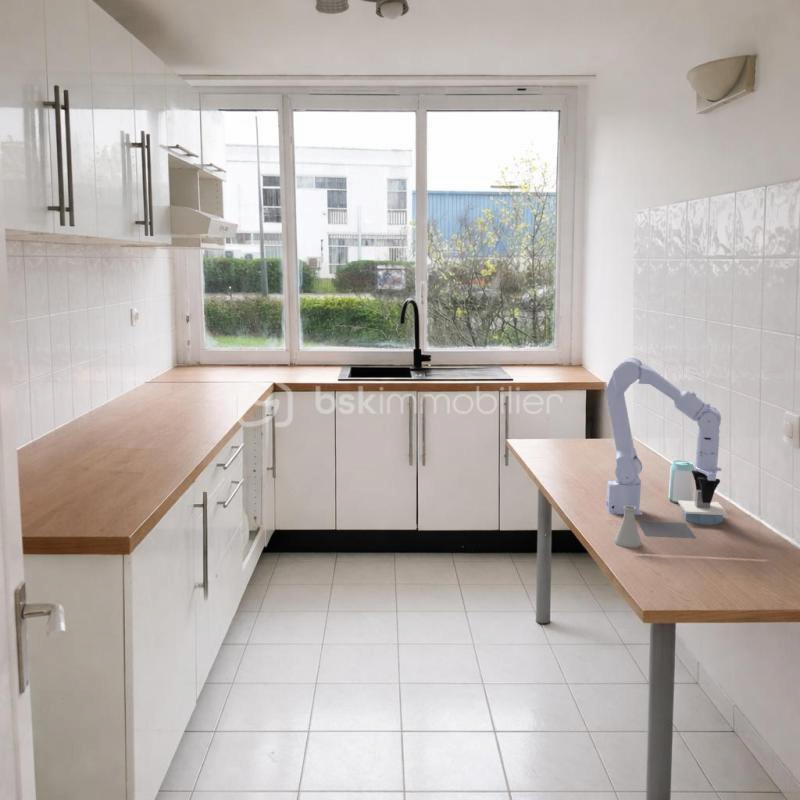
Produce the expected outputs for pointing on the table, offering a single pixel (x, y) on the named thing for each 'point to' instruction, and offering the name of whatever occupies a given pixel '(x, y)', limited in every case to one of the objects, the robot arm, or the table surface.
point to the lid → (701, 506)
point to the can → (681, 481)
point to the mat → (666, 529)
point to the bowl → (703, 518)
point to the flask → (628, 530)
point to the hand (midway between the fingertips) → (703, 499)
